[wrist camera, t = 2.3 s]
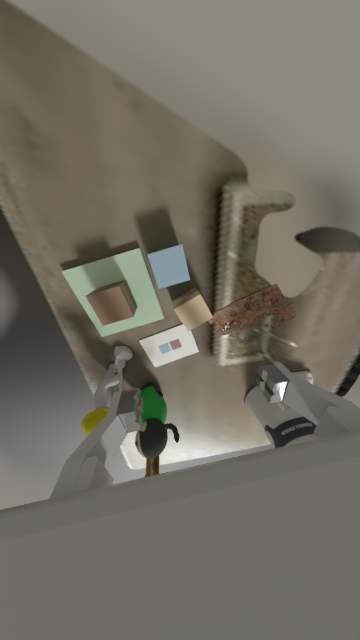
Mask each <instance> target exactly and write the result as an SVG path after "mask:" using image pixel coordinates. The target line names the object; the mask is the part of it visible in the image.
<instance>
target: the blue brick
mask: <svg viewBox="0 0 360 640" xmlns="http://www.w3.org/2000/svg"><path fill="white" fill-rule="evenodd" d="M147 255H148V258H149V261H150V264H151V267H152V270H153V273H154V276H155V279H156V282H157V285H158V288H159V289H161V288H164V287H168V286H171V285H175V284H178V283H181V282H185V281H188V280H190V276H189V272H188V267H187V263H186V259H185V254H184V250H183V245H182V244H180V245H176V246H172V247H169V248H166V249H162V250H159V251H155V252H152V253H149V254H147Z"/></svg>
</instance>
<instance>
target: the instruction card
mask: <svg viewBox="0 0 360 640" xmlns="http://www.w3.org/2000/svg"><path fill="white" fill-rule="evenodd" d="M139 342H140V344H141V345H142V347H143V349H144V350H145V352H146V354H147V355H148V357H149V358H150V360H151V362H152V363H153V365H154V367H155V368H156V367H158V366H161V365H164V364H166V363H169V362H172V361H175V360H177V359H180V358H183V357H186V356H188V355H191V354H194V353H196V352H199V351H198V348H197V345H196V343H195V340H194V338H193V335H192V332H191V330H190V331H188V330H187V329H186V327H185V326H184V324H181V325H179V326H176V327H174V328H171V329H168V330H166V331H163V332H160V333H158V334H155V335H152V336H150V337H147V338H145V339H142V340H139Z"/></svg>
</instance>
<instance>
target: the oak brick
mask: <svg viewBox="0 0 360 640" xmlns="http://www.w3.org/2000/svg"><path fill="white" fill-rule="evenodd" d="M172 303H173V308H174V311H175V312H176V314H177V315H178V317H179V318H180V320H181V321H182V323H183V324H184V326H185V327H186V329H187V330H188V331H190V330H192V329H193V328H195V327H197V326H199V325H201V324H203V323H204V322H206V321H208V320H210V319H212V318H213V317H212V315H211V313H210V311H209V309H208V307H207V305H206V303H205V301H204V299H203V298H202V296H201V294H200V293H199V291H198V290H197V289H196V288H195V287H194V288H193V289H191V290H189V291H188V292H186V293H184V294H182V295H181V296H179V297H177V298H176V299H174V300H172Z"/></svg>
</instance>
